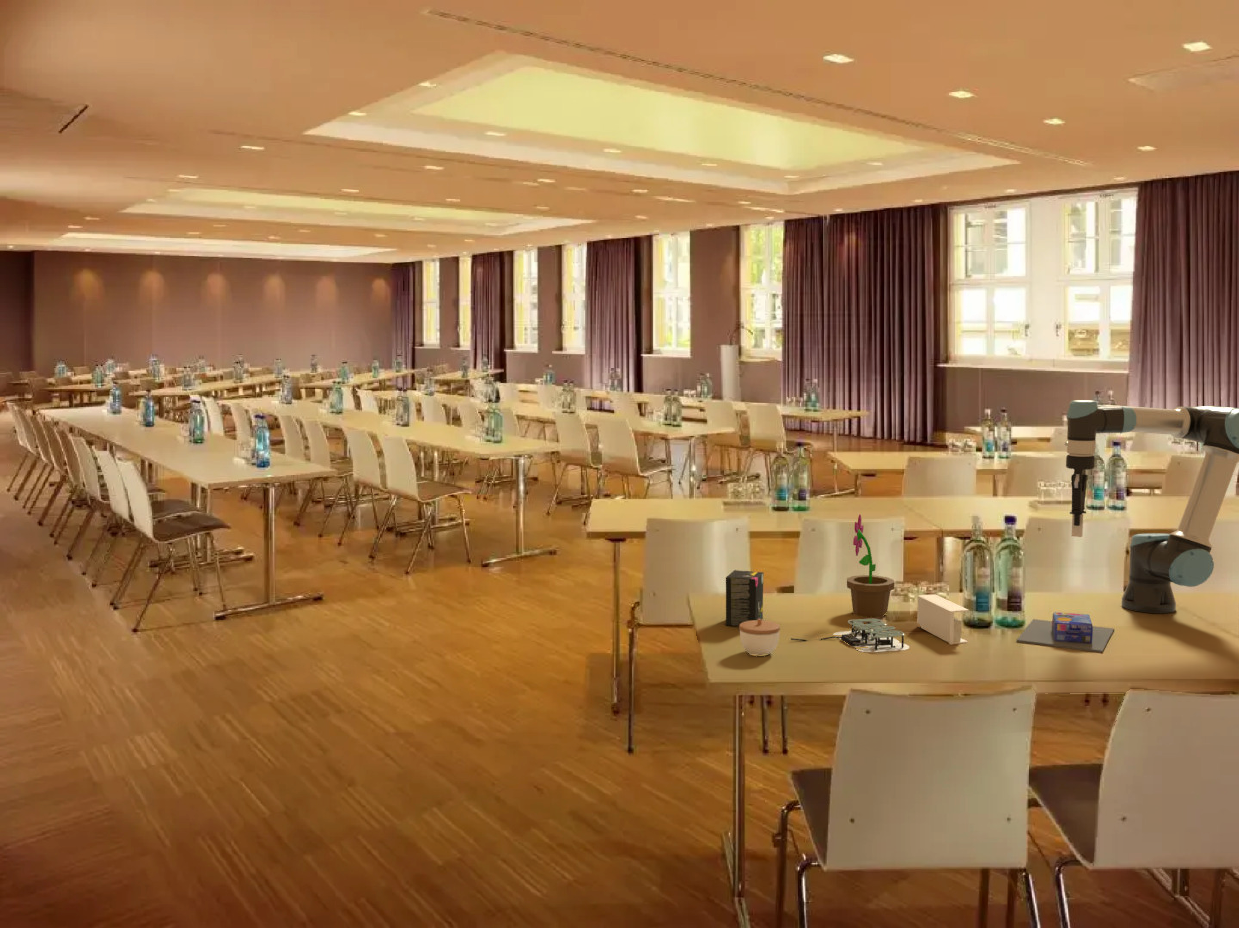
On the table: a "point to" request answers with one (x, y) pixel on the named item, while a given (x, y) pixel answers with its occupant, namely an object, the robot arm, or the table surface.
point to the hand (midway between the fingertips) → (1076, 536)
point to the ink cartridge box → (1072, 627)
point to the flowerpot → (868, 584)
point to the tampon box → (744, 597)
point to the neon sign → (871, 636)
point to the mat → (1043, 635)
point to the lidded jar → (759, 636)
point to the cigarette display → (940, 618)
